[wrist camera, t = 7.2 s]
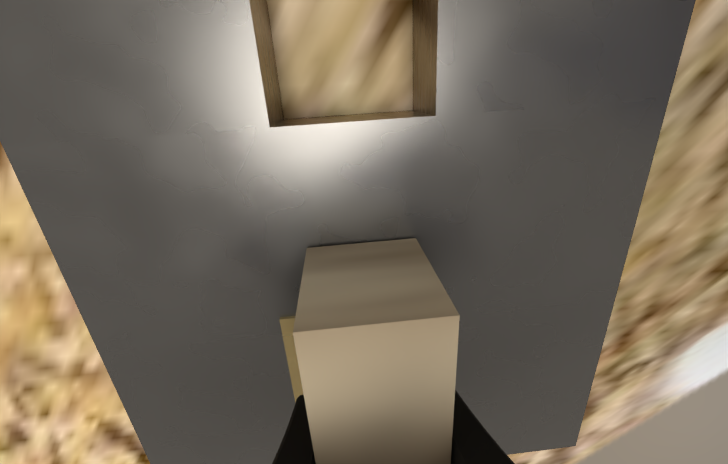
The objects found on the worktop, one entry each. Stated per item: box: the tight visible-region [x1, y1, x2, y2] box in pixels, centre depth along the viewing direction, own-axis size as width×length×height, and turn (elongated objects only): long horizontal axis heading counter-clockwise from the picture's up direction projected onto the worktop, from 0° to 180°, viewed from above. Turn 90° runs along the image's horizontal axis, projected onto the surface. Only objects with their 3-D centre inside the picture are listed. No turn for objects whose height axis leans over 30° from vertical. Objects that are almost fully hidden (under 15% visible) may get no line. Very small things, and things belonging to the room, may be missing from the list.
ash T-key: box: [293, 238, 460, 464], centre depth 11 cm, size 10×3×6 cm, turn 3°
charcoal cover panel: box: [0, 0, 696, 464], centre depth 10 cm, size 16×20×3 cm
